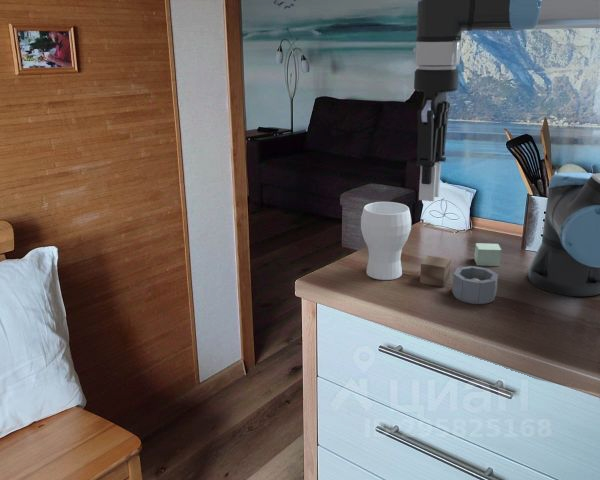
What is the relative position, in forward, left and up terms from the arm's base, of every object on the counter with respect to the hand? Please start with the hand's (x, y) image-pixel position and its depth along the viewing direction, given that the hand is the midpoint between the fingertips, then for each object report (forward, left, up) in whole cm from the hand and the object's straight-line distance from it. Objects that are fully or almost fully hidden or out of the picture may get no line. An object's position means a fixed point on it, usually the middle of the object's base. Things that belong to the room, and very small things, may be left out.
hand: (428, 197), depth 108 cm
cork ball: (-9, -5, -18) cm, 21 cm away
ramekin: (-9, -5, -21) cm, 23 cm away
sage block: (-8, -24, -21) cm, 33 cm away
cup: (+11, -8, -21) cm, 25 cm away
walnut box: (0, -9, -21) cm, 22 cm away
